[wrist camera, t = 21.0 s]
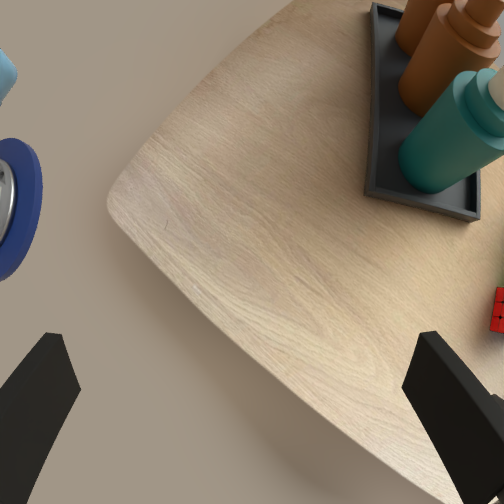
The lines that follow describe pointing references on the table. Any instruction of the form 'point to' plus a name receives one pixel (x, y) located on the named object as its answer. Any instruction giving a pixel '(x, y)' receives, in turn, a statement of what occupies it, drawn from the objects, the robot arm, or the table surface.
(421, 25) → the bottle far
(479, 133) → the bottle
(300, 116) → the table surface
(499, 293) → the rubik's cube
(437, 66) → the bottle mid
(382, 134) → the tray
